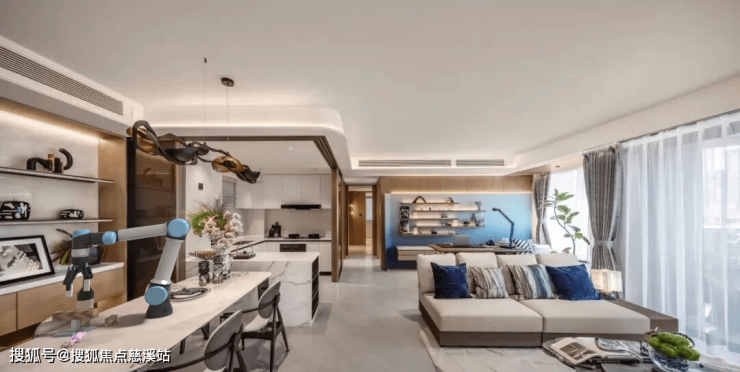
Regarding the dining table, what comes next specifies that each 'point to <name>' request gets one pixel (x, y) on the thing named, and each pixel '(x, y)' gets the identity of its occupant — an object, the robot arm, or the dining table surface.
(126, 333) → the dining table surface
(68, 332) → the fulcrum
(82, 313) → the walnut beam
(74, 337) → the rabbit figure
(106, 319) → the board
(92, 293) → the wine bottle
